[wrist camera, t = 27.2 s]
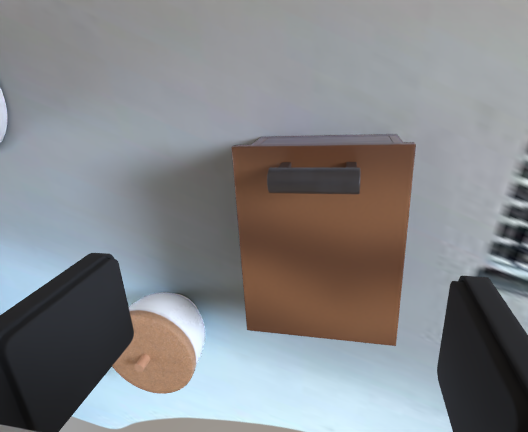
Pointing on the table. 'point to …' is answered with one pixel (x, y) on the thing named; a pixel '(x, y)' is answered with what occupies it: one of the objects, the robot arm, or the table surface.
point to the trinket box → (162, 343)
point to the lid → (324, 237)
